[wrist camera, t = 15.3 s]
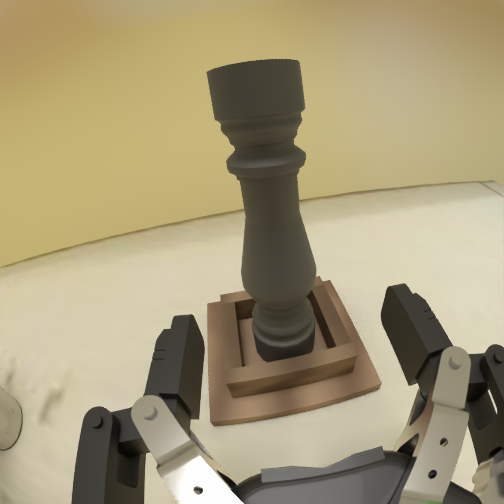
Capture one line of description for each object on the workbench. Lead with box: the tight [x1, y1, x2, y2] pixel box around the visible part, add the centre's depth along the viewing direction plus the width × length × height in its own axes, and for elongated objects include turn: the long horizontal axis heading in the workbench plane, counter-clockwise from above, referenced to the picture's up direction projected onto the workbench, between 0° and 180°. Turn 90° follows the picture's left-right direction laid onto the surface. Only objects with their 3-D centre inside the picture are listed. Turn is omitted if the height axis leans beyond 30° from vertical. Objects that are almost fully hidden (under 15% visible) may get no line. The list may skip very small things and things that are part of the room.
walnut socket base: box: [207, 276, 382, 426], centre depth 27 cm, size 16×16×4 cm
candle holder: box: [207, 59, 316, 362], centre depth 20 cm, size 6×6×25 cm
